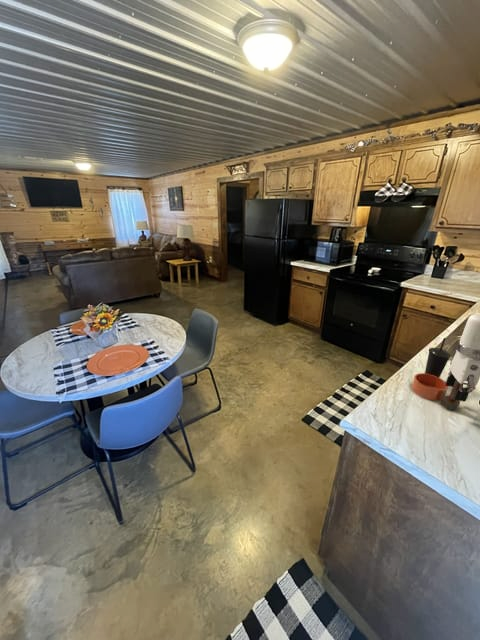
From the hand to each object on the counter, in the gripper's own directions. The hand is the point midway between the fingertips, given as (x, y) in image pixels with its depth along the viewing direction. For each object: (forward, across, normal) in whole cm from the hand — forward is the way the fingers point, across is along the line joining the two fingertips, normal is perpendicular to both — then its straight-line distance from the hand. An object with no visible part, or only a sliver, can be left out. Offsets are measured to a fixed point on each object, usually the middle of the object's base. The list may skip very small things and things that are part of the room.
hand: (454, 392), depth 95 cm
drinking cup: (+6, +17, +1) cm, 18 cm away
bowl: (+6, +8, +5) cm, 11 cm away
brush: (+6, 0, 0) cm, 6 cm away
